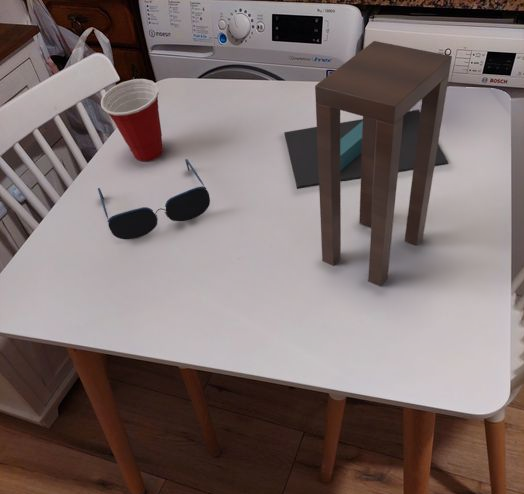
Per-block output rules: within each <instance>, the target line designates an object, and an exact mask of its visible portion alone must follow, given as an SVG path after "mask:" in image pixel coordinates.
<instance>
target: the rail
mask: <svg viewBox="0 0 524 494" xmlns="http://www.w3.org/2000/svg"><path fill="white" fill-rule="evenodd" d="M362 128H363V121H362V122H361V123H359V124H358V125H357V126H356V127H355V128H353V129H352V130H351V131H350V132H349V133H347V134H346V135H345V136H344V137H343V138H341V139H340V171H341V170H343V169H344V168H345V167H346V166H347V165H348V164H349V163H351V162H352V161H353V160H354V159H355V158H356V157H357V156H359V155H360V154H361V153H362Z"/></svg>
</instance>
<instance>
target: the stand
mask: <svg viewBox="0 0 524 494" xmlns="http://www.w3.org/2000/svg"><path fill="white" fill-rule="evenodd" d="M452 59H453V56H452V55H449V54H444V53H440V52H439V53H438V52H435V51H434V52H433V51H429V50H423V49H418V48H413V47H408V46H403V45H398V44H392V43H387V42H382V41H376V40H374V41H372V42H371V43H369V44H368V45H366V46H365V47H364V48H363V49H361V50H360V51H359V52H357V53H356V54H355V55H353V56H352V57H351V58H350V59H348V60H346V61H345V62H344V63H343V64H342V65H340V66H339V67H338V68H336V69H335V70H334V71H332V72H331V73H330V74H329V75H327V76H326V77H325V78H323V79H322V80H320V81H319V82H318V83H317V84H315V85H314V86H315V87H314V92H315V93H314V94H315V115H316V117H315V118H316V119H315V120H316V127H317V145H318V169H319V185H318V190H319V191H318V193H319V212H320V213H319V214H320V215H319V216H320V236H321V237H320V241H321V260H322V262H325V263H327V264H328V265H331V266H334V265H335V264H337V262H338V261H339V260H340V259H341V257H342V253H341V251H342V250H341V249H342V247H341V246H342V245H341V244H342V237H341V234H342V233H341V231H342V229H341V222H342V221H341V220H342V219H341V215H342V212H341V211H342V210H341V209H342V208H341V207H342V206H341V203H342V202H341V200H342V199H341V196H342V195H341V191H342V190H341V181H340V123H341V111H343V112H347V113H349V114H354V115H357V116H361V117H362V119H363V128H362V158H361V178H360V189H359V190H360V191H359V193H360V194H359V218H358V219H359V220H358V221H359V222H358V224H360V225H363V226H365V227H368V228H370V242H369V257H368V258H369V260H368V262H369V263H368V279H367V282H370V283H371V284H373V285H376V286H378V287H381V286H382V285H383V284H384V283H385V282H386V281H387V279H388V277H389V268H390V257H391V247H392V239H393V237H392V236H393V226H394V216H395V209H396V208H395V206H396V197H397V187H398V186H397V185H398V176H399V172H398V167H399V157H400V146H401V136H402V126H403V116H404V115H405V114H406V113H407V112H408V111H411V110H412V109H413V108H414V107H415V106H416V105H417V104H418V103H419V102H420V101H421V105H420V111H419V112H420V120H419V129H418V137H417V145H416V153H415V161H414V169H413V170H412V178H411V186H410V192H409V193H410V194H409V203H408V209H407V218H406V226H405V234H404V242H406V243H408V244H411V245H413V246H418V244H419V243H420V242H421V241H422V240H423V239H424V235H425V234H424V233H425V228H426V221H427V215H428V209H429V202H430V196H431V191H432V185H433V177H434V171H435V167H436V166H435V160H436V153H437V147H438V145H439V140H440V134H441V126H442V122H443V116H444V109H445V102H446V96H447V90H448V84H449V78H450V71H451V66H452V65H451V64H452Z"/></svg>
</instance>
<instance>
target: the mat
mask: <svg viewBox="0 0 524 494" xmlns="http://www.w3.org/2000/svg"><path fill="white" fill-rule="evenodd" d="M420 112H421V111H420V110H419V109H416V110H409V111H408V112H407V113H406V114H405V115H404V116H403V126H402V136H401V146H400V157H399V167H398V173H401V172H406V171H413V169H414V161H415V153H416V145H417V137H418V129H419V120H420ZM362 121H363V118H361V119H355V120H349V121H343V122H342V121H341V122H340V139H341V138H343V137H344V136H345V135H346V134H347V133H349V132H350V131H351V130H352V129H353V128H355V127H356V126H357V125H358V124H359V123H361V122H362ZM283 135H284V139H285V141H286V146H287V151H288V156H289V160H290V165H291V168H292V172H293V178H294V182H295V185H296V189H303V188H310V187H315V186H319V169H318V145H317V126H313V127H307V128H301V129H294V130H290V131H284V134H283ZM361 158H362V153H361V154H360V155H359V156H357V157H356V158H355V159H354V160H353V161H352V162H351V163H349V164H348V165H347V166H346V167H345V168H344V169H343V170H341V171H340V182H346V181H351V180H357V179H361ZM448 164H449V161H448V159H447V157H446V155H445V153H444V152H443V151H442V148H441V146H440V145H439V144H438V147H437V153H436V160H435V166H434V167H437V166H442V165H444V166H445V165H448Z"/></svg>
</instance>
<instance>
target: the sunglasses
mask: <svg viewBox="0 0 524 494" xmlns="http://www.w3.org/2000/svg"><path fill="white" fill-rule="evenodd" d="M184 160H185V165H186V168H187V171H188V172H189V171H190V169H191V171H192V172H193V174H194V175H195V177H196V178H197V179H198V181H199V183H201V185H202V186H195V187H193V188H190V189H188V190H186V191H183V192H181V193H178V194H176V195H174V196H172V197H170V198H168V199H167V201H166V203H165V204H164V207H165V208H158V209H157V210H156V211H155V212H154V210H153V209H152V208H150V207H147V206H146V207H145V206H144V207H138V208H134V209H131V210H127V211H123V212H120V213H116V214H114V215H112V216H110V217H109V216H108V212H107V208H106V205H105V201H104V200H105V197H104V195H103V193H102V190H101V188H100V187H97V192H98V195H99V198H100V201H101V205H102V209H103V211H104V214H105V217H106V219H107V224H108V229H109V230H110V233H111V234H112V235H113V236H114V237H115V238H117V239H119V240H120V239H121V240H125V241H126V240H127V241H128V240H135V239H138V238H142V237H144V236H146V235H148V234H149V233H151V232H152V231H153V230H154V229H156V228H157V226H158V221H159V217H158V214H157V213H158V212H159V211H160V210H163V211H164V214H165V216H166V217H167V218H168V219H169V220H170V221H172V222H188V221H191V220H194V219H196V218H198V217H199V216H201V215H202V214H204V213H205V212H206V211H207V209H208V208H209V206H210V204H211V197H210V193H209V190H208V189H207V187H206V186H205V184H204V183H203V181H202V179H201V178H200V176H199V175H198V173H197V171H196V170H195V168H194V167H193V165H192V164H191V162H190V160H189V159H187V158H186V159H184Z"/></svg>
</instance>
